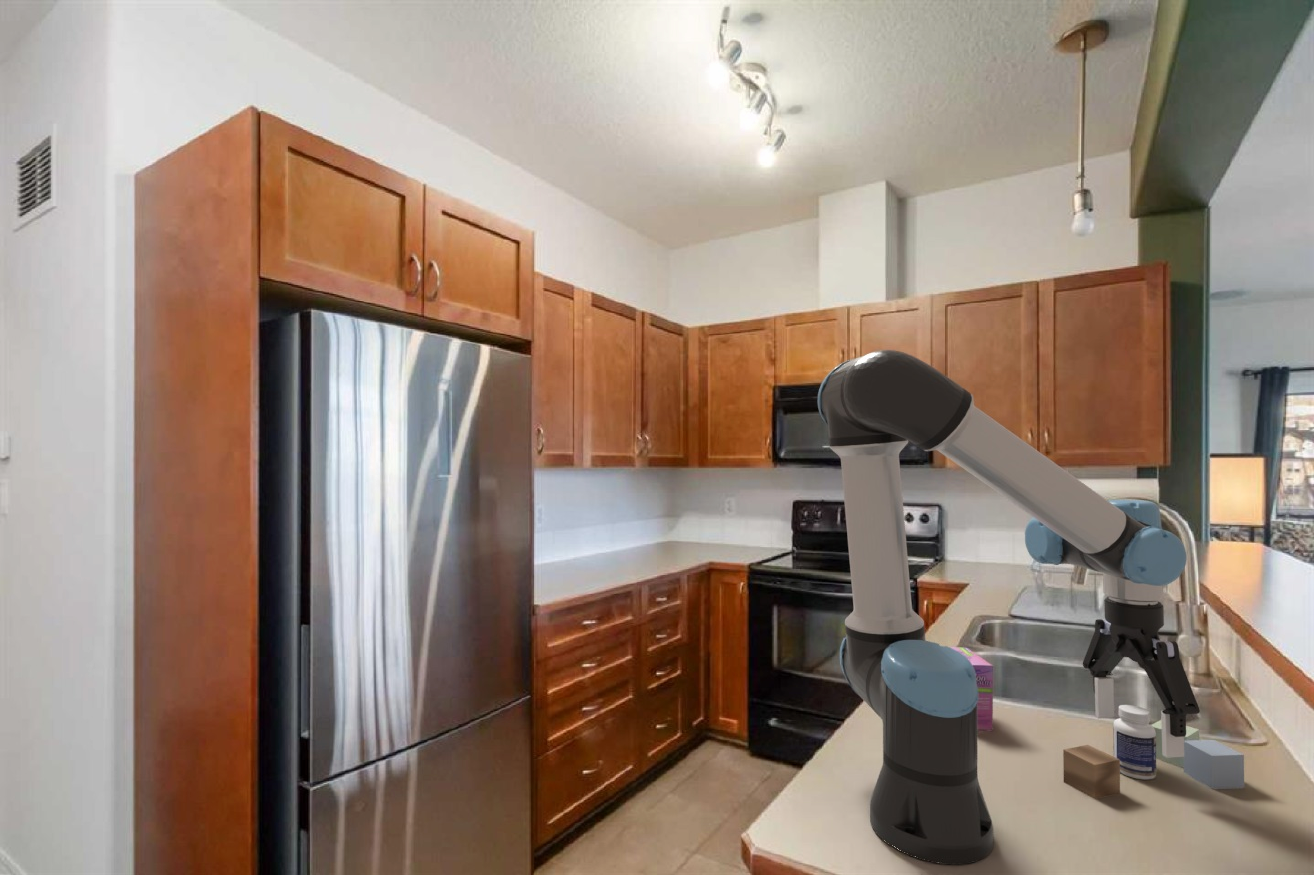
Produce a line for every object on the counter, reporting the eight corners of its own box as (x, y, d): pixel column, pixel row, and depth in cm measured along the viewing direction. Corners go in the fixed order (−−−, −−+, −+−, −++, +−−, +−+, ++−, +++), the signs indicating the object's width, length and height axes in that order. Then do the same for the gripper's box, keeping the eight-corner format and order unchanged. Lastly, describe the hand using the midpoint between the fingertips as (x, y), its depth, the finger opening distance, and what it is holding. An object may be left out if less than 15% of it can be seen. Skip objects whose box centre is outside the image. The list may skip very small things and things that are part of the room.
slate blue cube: (1212, 789, 98) (1211, 755, 98) (1183, 772, 103) (1183, 740, 103) (1244, 788, 98) (1243, 754, 98) (1214, 771, 103) (1213, 739, 103)
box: (994, 731, 118) (993, 664, 118) (962, 731, 118) (961, 664, 118) (967, 707, 128) (967, 646, 128) (938, 707, 128) (937, 646, 128)
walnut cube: (1094, 799, 95) (1094, 764, 95) (1063, 782, 100) (1063, 749, 100) (1120, 793, 97) (1119, 759, 97) (1088, 777, 101) (1087, 744, 101)
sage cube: (1187, 768, 104) (1186, 737, 104) (1150, 756, 108) (1149, 725, 108) (1199, 760, 107) (1199, 729, 107) (1162, 748, 111) (1162, 718, 111)
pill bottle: (1163, 782, 100) (1163, 717, 100) (1124, 779, 101) (1123, 714, 101) (1145, 765, 105) (1144, 703, 105) (1107, 762, 106) (1106, 701, 106)
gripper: (1229, 619, 91) (1233, 774, 91) (1098, 581, 116) (1101, 702, 115) (1177, 621, 90) (1181, 776, 90) (1057, 583, 115) (1060, 704, 115)
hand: (1136, 735), depth 103 cm, fingers open, 13 cm apart
